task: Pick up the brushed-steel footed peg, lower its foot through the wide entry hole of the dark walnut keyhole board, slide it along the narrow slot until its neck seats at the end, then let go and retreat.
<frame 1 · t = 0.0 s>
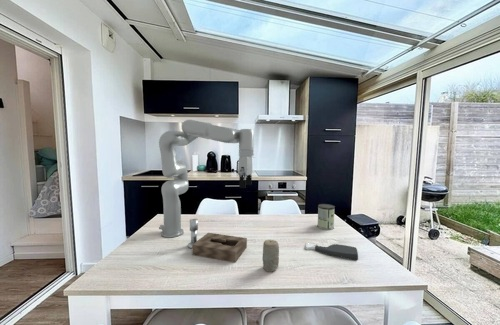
hand: (245, 186, 119), 31 cm above the table, tool pointing down, fingers open, 9 cm apart
spray bottle: (330, 252, 115), on the table
carving: (270, 269, 98), on the table
coffee can: (325, 227, 150), on the table
keyhole peg: (193, 246, 118), on the table
keyhole board: (220, 251, 113), on the table
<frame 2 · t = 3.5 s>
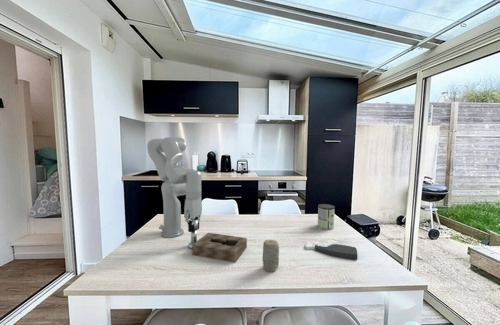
hand: (193, 229, 117), 9 cm above the table, tool pointing down, fingers closed on keyhole peg, 4 cm apart
keyhole peg: (193, 246, 118), on the table, touching gripper
everything else where it was.
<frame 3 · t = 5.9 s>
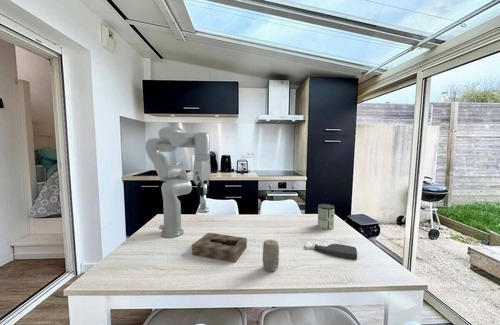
hand: (202, 194, 114), 28 cm above the table, tool pointing down, fingers closed on keyhole peg, 4 cm apart
keyhole peg: (203, 211, 115), point 19 cm above the table, touching gripper
everything else where it was.
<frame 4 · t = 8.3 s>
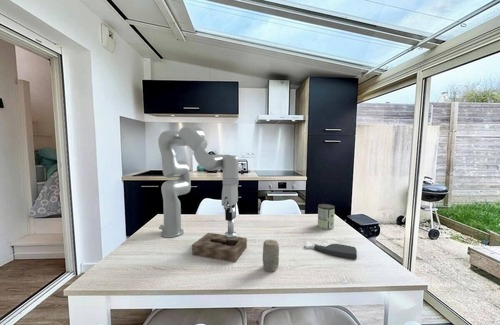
hand: (230, 218, 111), 17 cm above the table, tool pointing down, fingers closed on keyhole peg, 4 cm apart
keyhole peg: (230, 236, 111), point 8 cm above the table, touching gripper
everything else where it was.
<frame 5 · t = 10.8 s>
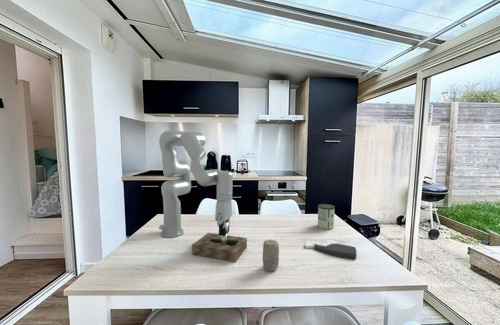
hand: (224, 233, 112), 9 cm above the table, tool pointing down, fingers closed on keyhole peg, 4 cm apart
keyhole peg: (223, 250, 113), point 1 cm above the table, touching gripper
when the fingers open (10 cm above the table, at t = 13.1 s): keyhole peg stays where it is, resting in keyhole board.
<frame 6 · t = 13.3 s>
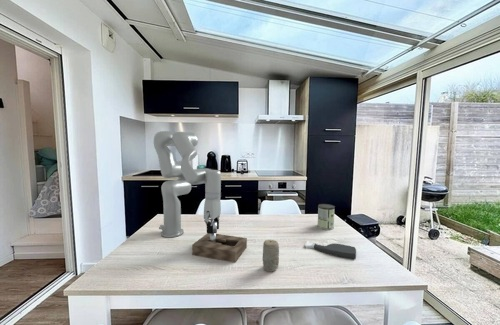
hand: (212, 230, 114), 10 cm above the table, tool pointing down, fingers open, 5 cm apart
keyhole peg: (212, 249, 115), resting in keyhole board
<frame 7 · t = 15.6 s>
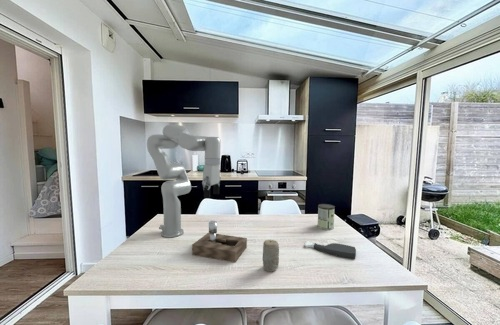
hand: (211, 195, 115), 27 cm above the table, tool pointing down, fingers open, 9 cm apart
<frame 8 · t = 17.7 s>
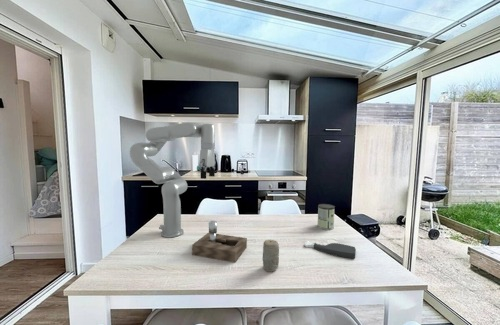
hand: (207, 177, 128), 34 cm above the table, tool pointing down, fingers open, 9 cm apart
at the end: keyhole peg 0.2 cm from the target spot on the keyhole board, point 0.0 cm above the keyhole board's base; keyhole peg tilted 0°; the gripper is holding nothing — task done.
